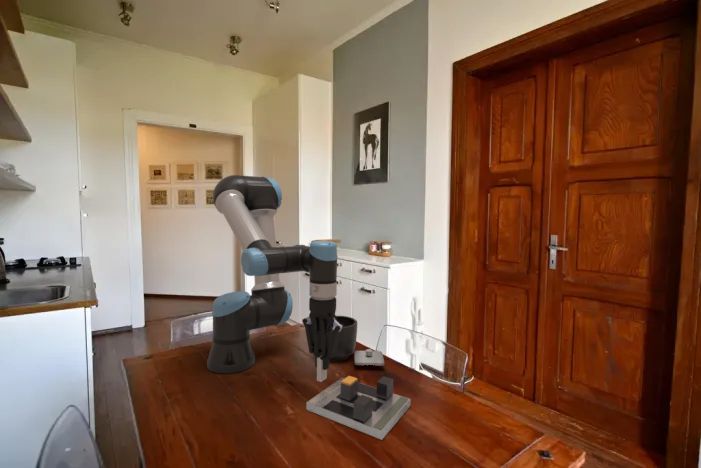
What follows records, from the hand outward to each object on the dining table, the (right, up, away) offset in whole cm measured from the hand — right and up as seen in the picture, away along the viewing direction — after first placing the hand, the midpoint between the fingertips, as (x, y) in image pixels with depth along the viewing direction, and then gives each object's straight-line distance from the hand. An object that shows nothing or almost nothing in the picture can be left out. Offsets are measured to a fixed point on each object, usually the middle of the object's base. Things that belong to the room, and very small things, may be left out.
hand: (321, 379), depth 101 cm
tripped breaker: (+8, -3, -5) cm, 9 cm away
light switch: (+14, -4, +21) cm, 26 cm away
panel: (+10, -5, -6) cm, 13 cm away
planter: (+3, -3, +26) cm, 27 cm away
